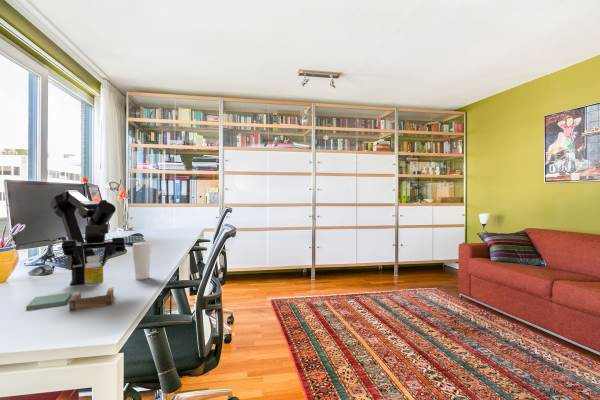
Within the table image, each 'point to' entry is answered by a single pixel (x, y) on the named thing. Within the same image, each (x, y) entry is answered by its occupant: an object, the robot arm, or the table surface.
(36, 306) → the green mat
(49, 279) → the table surface
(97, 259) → the supplement bottle
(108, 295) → the frame
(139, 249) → the white tall cylinder
